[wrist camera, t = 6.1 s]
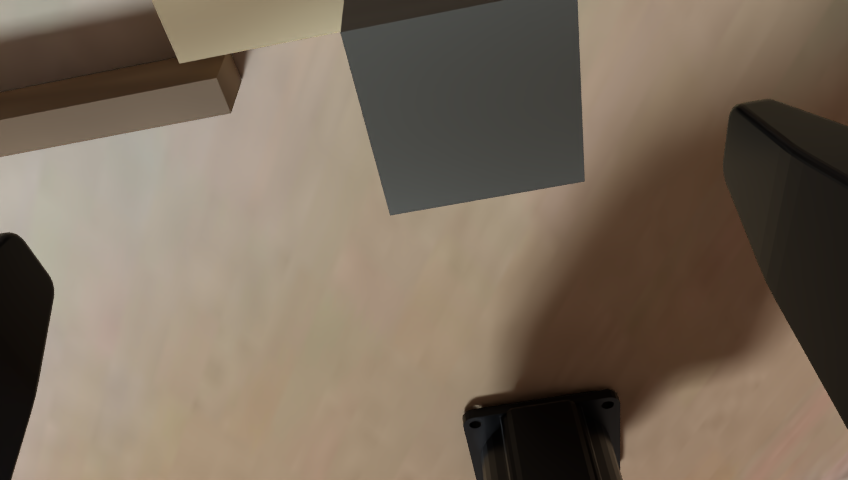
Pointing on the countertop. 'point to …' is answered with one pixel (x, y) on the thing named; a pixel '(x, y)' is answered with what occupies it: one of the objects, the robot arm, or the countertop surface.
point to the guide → (116, 102)
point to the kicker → (430, 84)
